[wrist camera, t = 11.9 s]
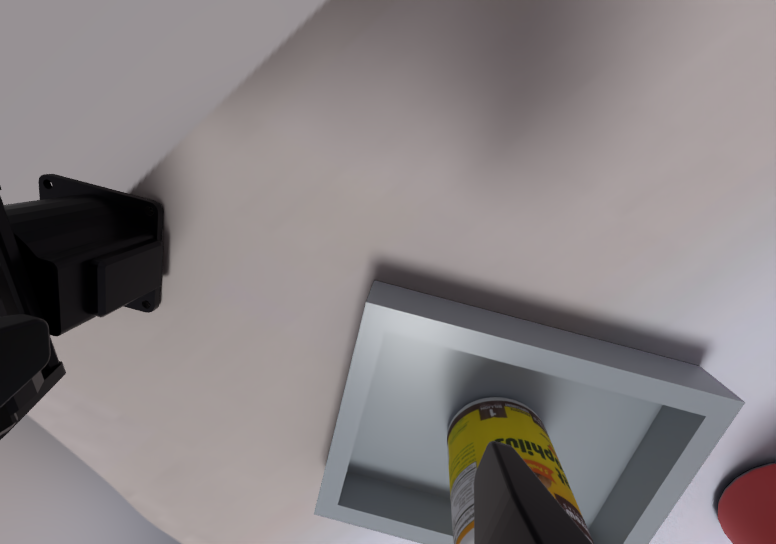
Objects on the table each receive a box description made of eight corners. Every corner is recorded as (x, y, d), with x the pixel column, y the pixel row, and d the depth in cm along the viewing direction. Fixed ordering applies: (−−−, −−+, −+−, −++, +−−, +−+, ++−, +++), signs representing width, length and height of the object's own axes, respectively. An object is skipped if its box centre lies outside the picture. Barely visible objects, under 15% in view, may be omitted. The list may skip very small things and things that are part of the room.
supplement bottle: (564, 420, 21) (679, 648, 12) (506, 483, 23) (564, 725, 13) (479, 374, 21) (527, 571, 11) (427, 441, 23) (429, 661, 13)
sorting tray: (326, 472, 25) (314, 514, 22) (374, 280, 20) (366, 301, 18) (591, 544, 25) (612, 595, 22) (700, 366, 20) (745, 402, 17)
